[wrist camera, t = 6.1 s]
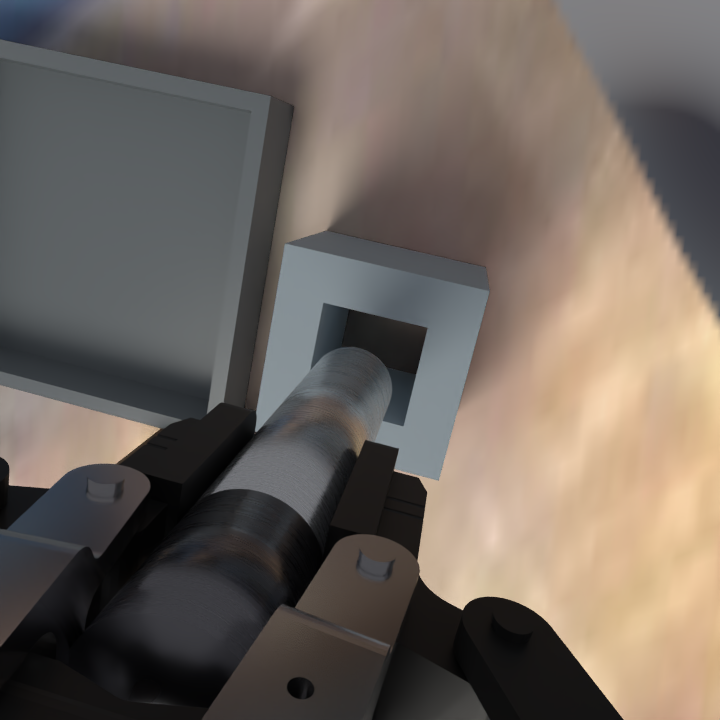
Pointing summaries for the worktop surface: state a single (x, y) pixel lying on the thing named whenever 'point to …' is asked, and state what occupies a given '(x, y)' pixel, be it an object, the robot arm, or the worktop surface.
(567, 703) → the robot arm
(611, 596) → the worktop surface
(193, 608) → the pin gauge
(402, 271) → the grey socket cube
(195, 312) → the tray
